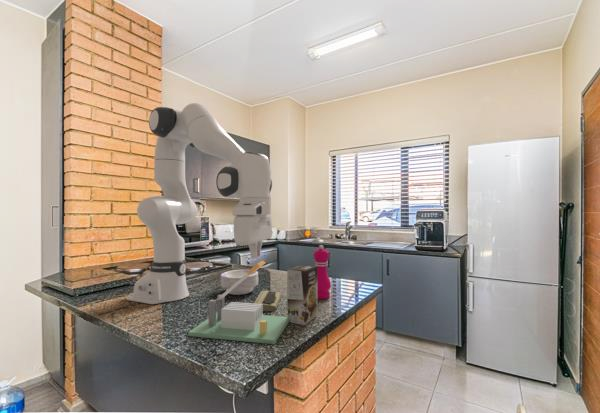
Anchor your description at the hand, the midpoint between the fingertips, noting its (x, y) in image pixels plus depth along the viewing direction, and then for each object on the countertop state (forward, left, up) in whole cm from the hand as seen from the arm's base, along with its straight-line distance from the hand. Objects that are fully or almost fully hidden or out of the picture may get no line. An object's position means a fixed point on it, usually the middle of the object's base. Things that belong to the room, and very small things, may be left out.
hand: (255, 257), depth 82 cm
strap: (-5, 0, -8) cm, 9 cm away
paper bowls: (-20, +34, -20) cm, 44 cm away
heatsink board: (-4, 0, -20) cm, 20 cm away
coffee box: (+11, +11, -21) cm, 26 cm away
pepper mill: (+14, +34, -20) cm, 42 cm away
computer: (-4, +22, -21) cm, 30 cm away
